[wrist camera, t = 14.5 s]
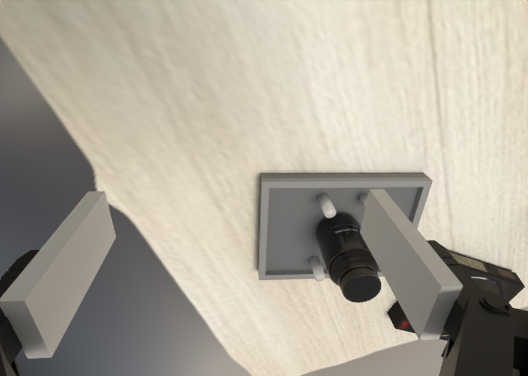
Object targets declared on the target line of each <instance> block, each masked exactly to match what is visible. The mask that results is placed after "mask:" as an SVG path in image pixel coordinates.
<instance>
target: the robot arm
mask: <svg viewBox="0 0 528 376" xmlns="http://www.w3.org/2000/svg"><path fill="white" fill-rule="evenodd" d="M360 233H361V235H362V237H363V239H364V241H365V243H366V244H367V246H368V248H369V250H370V252H371V253H372V255H373V257H374V259H375V261H376V262H377V264H378V266H379V268H380V270H381V271H382V273H383V275H384V277H385V279H386V280H387V282H388V284H389V286H390V288H391V290H392V291H393V293H394V295H395V297H396V299H397V300H398V302H399V304H400V306H401V308H402V309H403V311H404V313H405V315H406V317H407V318H408V320H409V322H410V324H411V326H412V327H413V329H414V331H415V333H416V335H417V337H418V338H419V340H426V339H439V338H440V335H441V333H442V331H443V329H445V330H446V332H447V333H448V335H449V336H450V338H449V340H448V343H447V345H446V347H445V349H444V351H443V353H442V355H441V356H442V357H444V358H443V362H442V366H441V370H440V374H439V376H528V311H525V310H520V309H516V308H512V306H511V305H510V304H509V303H508V302H507V301H506V300H505V299H503V298H502V297H500V296H498V295H496V294H494V293H492V292H489V291H485V290H482V289H481V288H480V287H479V286H478V285H477V283H476V282H475V281H474V280H473V279H472V278H471V277H470V275H469V274H468V273H467V272H466V271H465V270H464V269H463V267H462V266H461V265H459V263H458V262H457V261H456V259H455V258H453V256H452V255H451V254H450V253H449V251H448V250H447V249H446V248H445V247H443V246H442V245H440V244H439V243H437V242H436V241H434V240H430V241H426V240H425V239H424V237H423V236H422V235H421V234H420V232H419V231H418V230H417V229H416V228H415V226H414V225H413V224H412V223H411V221H410V220H409V219H408V218H407V217H406V215H405V214H404V213H403V212H402V211H401V209H400V208H399V207H398V206H397V204H396V203H395V202H394V201H393V200H392V198H391V197H390V196H389V195H388V194H387V192H386V191H385V190H384V189H369V193H368V198H367V202H366V207H365V211H364V216H363V221H362V225H361V230H360ZM115 238H116V235H115V231H114V227H113V223H112V219H111V215H110V211H109V207H108V202H107V198H106V194H105V191H102V192H88V193H87V194H86V195H85V196H84V197H83V199H82V200H81V201H80V203H79V204H78V205H77V206H76V207H75V208H74V210H73V211H72V212H71V213H70V215H69V216H68V217H67V218H66V219H65V220H64V222H63V223H62V224H61V226H60V227H59V228H58V229H57V230H56V231H55V233H54V234H53V235H52V236H51V237H50V239H49V240H48V241H47V242H46V243H45V245H44V246H43V247H42V248H41V250H30V251H29V252H27V253H26V254H25V255H23V256H22V257H20V258H19V259H17V260H16V262H15V263H14V264H13V265H12V266H11V267H10V268H9V271H7V272H6V273H5V274H4V275H3V276H2V277H1V280H0V376H22V375H21V372H20V369H19V366H18V364H17V362H16V360H15V358H16V356H17V355H18V353H19V352H20V350H21V349H23V350H24V352H25V354H26V356H27V358H49V357H52V355H53V354H54V352H55V350H56V348H57V346H58V344H59V342H60V340H61V339H62V337H63V335H64V333H65V331H66V329H67V327H68V325H69V324H70V322H71V320H72V318H73V316H74V314H75V313H76V311H77V309H78V307H79V305H80V303H81V301H82V299H83V298H84V296H85V294H86V292H87V290H88V288H89V286H90V284H91V283H92V281H93V279H94V277H95V275H96V273H97V272H98V270H99V268H100V266H101V264H102V262H103V260H104V258H105V257H106V255H107V253H108V251H109V249H110V247H111V246H112V243H113V242H114V240H115Z"/></svg>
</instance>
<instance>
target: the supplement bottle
mask: <svg viewBox="0 0 528 376" xmlns="http://www.w3.org/2000/svg"><path fill="white" fill-rule="evenodd" d="M360 230H361V226H360V224H359V222H358V221H357V220H356V219H355V218H354V217H353V216H351V215H348V214H344V213H337V214H336V215H335V216H334V217H332V218H327V217H326V218H325V219H323V220H322V221H321V223H320V224H319V225H318V227H317V231H316V238H317V241H318V245H319V248H320V251H321V254H322V257H323V261H324V264H325V267H326V270H327V273H328V275H329V278H330V279H331V280H332V281H333V282H334V283H335V284H336V285H338V286H340V288H341V290H342V293H343V295H344V297H345V298H346V299H348V300H349V301H351V302H358V303H359V302H366V301H369V300H370V299H373V298H374V297H375V296H376V295H378V293H379V292H380V290H381V282H380V279H379V277H378V274H377V272H378V268H379V266H378V264H377V262H376V261H375V259H374V257H373V255H372V253H371V252H370V250H369V248H368V246H367V244H366V243H365V241H364V239H363V237H362V235H361V233H360Z"/></svg>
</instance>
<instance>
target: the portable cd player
mask: <svg viewBox="0 0 528 376" xmlns="http://www.w3.org/2000/svg"><path fill="white" fill-rule="evenodd" d="M449 253H450V254H451V255H452V256H453V258H455V259H456V261H457V262H458V263H459V265H461V266H462V267H463V269H464V270H465V271H466V272H467V273H468V274H469V275H470V277H471V278H472V279H473V280H474V281H475V282H476V283H477V285H478V286H479V287H480V288H481V289H482V290H485V291H489V292H492V293H494V294H496V295H498V296H500V297H502V298H503V299H505V300H506V301H507V302H509V301H510V300H512V299H513V298H514V297H515V296H516V295H517V294H518V293H519V292H520V291H521V290H522V289H523V288H524V287H525V286H524V285H523V283H522V282H521V280H520V279H519V277H518V276H517V274H516V273H514V272H511V271H508V270H505V269H502V268H499V267H495V266H492V265H489V264H486V263H483V262H480V261H477V260H474V259H471V258H467V257H464V256H461V255H458V254H455V253H452V252H449ZM387 313H388V315H389V317H390V319H391V321H392V323H393V325H394V327H395V329H400V330H404V331H408V332H412V333H415V331H414V329H413V327H412V326H411V324H410V322H409V320H408V318H407V317H406V315H405V313H404V311H403V309H402V308H401V306H400V304H399V302H398V300H397V301H396V303H395V304H394V305H393V306H392V307H391V309H390V310H389V311H388V312H387ZM449 338H450V336H449V335H448V333H447V332H446V330H445V329H443V331H442V333H441V335H440V338H439V339H442V340H447V341H448V340H449Z"/></svg>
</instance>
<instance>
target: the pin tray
mask: <svg viewBox="0 0 528 376" xmlns="http://www.w3.org/2000/svg"><path fill="white" fill-rule="evenodd" d="M431 184H432V180H431V179H430V178H429V177H428V176H427V175H425V174H424V173H276V174H261V187H260V222H259V256H258V274H259V280H282V279H315V280H316V281H323V280H324V279H325V278H329V275H328V273H327V270H326V267H325V264H324V261H323V257H322V254H321V251H320V248H319V245H318V241H317V238H316V231H317V227H318V225H319V224H320V223H321V221H322V220H323V219H325V218H326V217H327V218H332V217H334V216H335V215H336V214H337V213H344V214H348V215H351V216H353V217H354V218H355V219H356V220H357V221H358V222H359V224H360V226H361V225H362V221H363V216H364V211H365V207H366V202H367V198H368V193H369V189H384V190H385V191H386V192H387V194H388V195H389V196H390V197H391V198H392V200H393V201H394V202H395V203H396V204H397V206H398V207H399V208H400V209H401V211H402V212H403V213H404V214H405V215H406V217H407V218H408V219H409V220H410V221H411V223H412V224H413V225H414V226H415V228H416V229H417V227H418V224H419V221H420V218H421V215H422V212H423V209H424V206H425V202H426V199H427V196H428V193H429V190H430V187H431ZM377 274H378V277H380V276H384V275H383V273H382V271H381V270H380V268H378V272H377Z"/></svg>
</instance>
